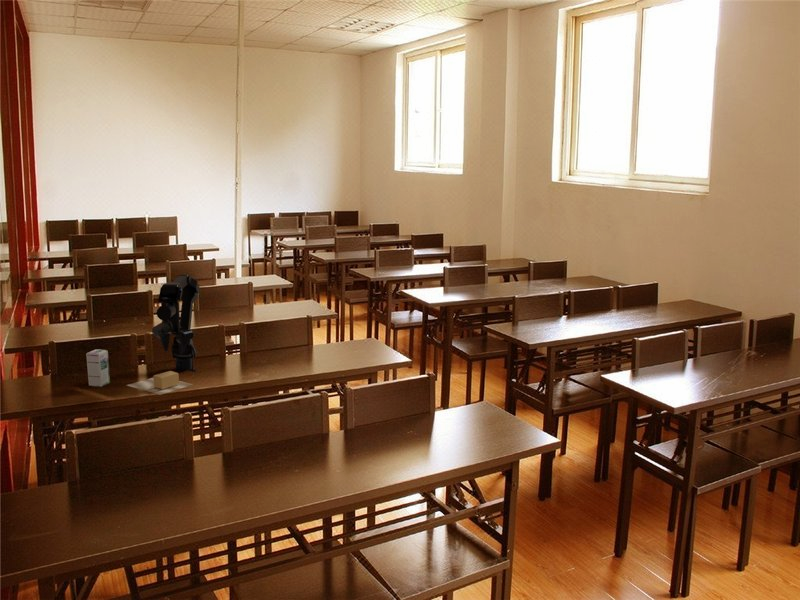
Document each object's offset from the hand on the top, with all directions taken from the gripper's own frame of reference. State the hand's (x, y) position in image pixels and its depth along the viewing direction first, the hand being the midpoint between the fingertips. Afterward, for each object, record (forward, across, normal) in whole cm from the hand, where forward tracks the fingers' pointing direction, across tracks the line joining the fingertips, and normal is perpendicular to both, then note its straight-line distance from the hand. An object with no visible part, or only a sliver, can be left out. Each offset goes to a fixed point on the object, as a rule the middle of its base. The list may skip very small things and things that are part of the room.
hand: (173, 352), depth 288 cm
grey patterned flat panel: (+12, +2, -9) cm, 15 cm away
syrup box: (+12, -18, -22) cm, 31 cm away
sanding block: (+11, +6, -9) cm, 15 cm away
